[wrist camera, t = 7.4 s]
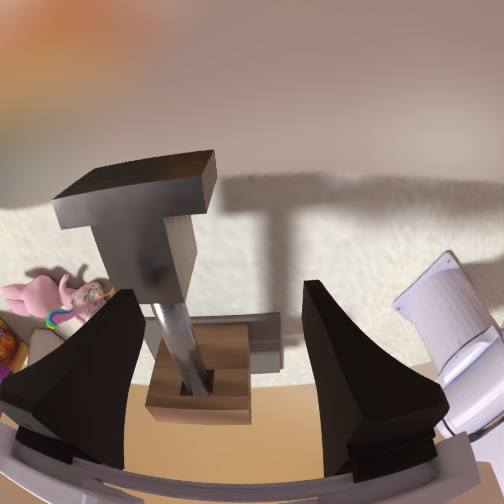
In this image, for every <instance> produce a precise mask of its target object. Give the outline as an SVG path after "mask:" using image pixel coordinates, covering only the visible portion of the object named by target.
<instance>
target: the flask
mask: <svg viewBox="0 0 504 504" xmlns="http://www.w3.org/2000/svg"><path fill="white" fill-rule="evenodd" d="M62 343H64V341H63V340H62V339H61V338H59V337H58V336H57V335H55V334H54V333H53V332H52V331H50V330H44V329H38V328H36V329H35V330H34V332H33V333H32V335H31V338H30V346H29V356H28V364H27V367H28V366H30V365H32V364H33V363H35V362H37V361H38V360H40V359H42V358H43V357H44V356H46V355H47V354H49V353H50V352H52V351H53V350H55V349H56V348H57V347H59V346H60V345H61V344H62Z"/></svg>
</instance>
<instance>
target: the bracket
mask: <svg viewBox="0 0 504 504" xmlns="http://www.w3.org/2000/svg"><path fill="white" fill-rule="evenodd" d="M192 327H193V330H194V334H195V337H196V340H197V343H198V346H199V350H200V353H201V356H202V359H203V362H204V365H205V368H206V371H207V374H208V377H209V379H210V382H211V385H212V388H213V397H204V396H190V394H189V392H188V390H187V388H186V386H185V384H184V382H183V380H182V378H181V376H180V374H179V372H178V369H177V367H176V365H175V363H174V361H173V358H172V356H171V354H170V352H169V349H168V347H167V345H166V342H165V340H164V338H163V335H162V336H161V340H160V344H159V348H158V352H157V356H156V360H155V364H154V368H153V372H152V377H151V381H150V385H149V390H148V394H147V399H146V403H145V407H146V408H147V409H148V411H149V412H150V413H151V414H152V416H153V417H154V418H155V419H156V421H158V422H169V423H183V424H204V425H251V375H250V338H249V329H248V322H230V323H201V324H192Z"/></svg>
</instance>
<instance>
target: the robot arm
mask: <svg viewBox="0 0 504 504" xmlns="http://www.w3.org/2000/svg"><path fill="white" fill-rule="evenodd" d="M448 259H449V260H448ZM392 308H393V309H394V310H395V311H396V312H398V313H399V314H400V315H402V316H403V317H404V318H406V319H407V320H408V321H410V322H411V323H412V324H414V326H415V328H416V329H417V331H418V333H419V335H420V337H421V339H422V341H423V343H424V345H425V347H426V349H427V351H428V353H429V356H430V358H431V360H432V362H433V364H434V366H435V368H436V370H437V373H438V375H439V377H438V378H437V379H436V380H435V381H432V380H430V379H428V378H426V377H424V376H422V375H420V374H419V373H417V372H415V371H414V370H412V369H410V368H409V367H407V366H405V365H404V364H402V363H401V362H399V361H398V360H397V359H395V358H394V357H392V356H391V355H390V354H388V353H387V352H385V351H384V350H383V349H382V348H381V347H379V346H378V345H377V344H376V343H375V342H373V341H372V340H371V339H370V338H369V337H368V336H367V335H366V334H365V333H364V332H363V331H362V330H361V329H360V328H359V327H358V326H357V325H356V324H355V323H354V322H353V321H352V320H351V319H350V318H349V317H348V315H347V314H346V313H345V312H344V311H343V310H342V308H341V307H340V306H339V305H338V304H337V302H336V301H335V300H334V299H333V297H332V296H331V295H330V293H329V292H328V291H327V289H326V288H325V287H324V285H323V284H322V282H321V281H320V280H307V281H304V287H303V304H302V324H303V331H304V338H305V343H306V347H307V351H308V355H309V359H310V363H311V367H312V371H313V375H314V379H315V383H316V387H317V394H318V403H319V411H320V420H321V432H322V445H323V463H324V478H320V479H313V480H303V481H295V482H282V483H264V484H220V483H203V482H191V481H181V480H173V479H166V478H159V477H153V476H147V475H142V474H136V473H132V472H127V471H123V469H124V468H125V467H124V424H125V413H126V404H127V398H128V392H129V387H130V383H131V380H132V376H133V373H134V370H135V366H136V363H137V360H138V357H139V353H140V350H141V347H142V343H143V339H144V333H145V327H146V320H145V318H144V316H143V313H142V311H141V308H140V306H139V304H138V301H137V299H136V296H135V293H134V291H133V289H120V290H119V291H118V292H117V293H116V294H115V295H114V296H113V297H112V298H110V299H109V300H108V301H107V302H106V303H105V304H104V305H103V306H102V307H101V308H100V309H99V310H98V311H97V312H96V313H95V314H94V315H93V316H92V317H91V318H90V319H89V320H88V321H87V322H86V323H85V324H84V325H83V326H82V327H81V328H80V329H79V330H78V331H76V332H75V333H74V334H73V335H72V336H71V337H70V338H69V339H67V340H66V341H65V342H64V343H62V344H61V345H60V346H59V347H57V348H56V349H55V350H53V351H52V352H50V353H49V354H47V355H46V356H44V357H43V358H42V359H40V360H38V361H37V362H35V363H33V364H32V365H30V366H28V367H26V368H25V369H23V370H21V371H19V372H16V373H14V374H12V375H10V376H8V377H5V378H3V379H2V381H1V384H0V410H2V411H3V412H4V413H5V414H6V415H7V416H8V417H10V418H11V419H12V420H13V421H14V422H15V423H17V424H18V425H19V428H18V430H16V429H15V428H13V427H11V426H9V425H7V424H5V423H3V422H2V421H0V473H2V474H3V475H5V476H6V477H7V478H9V479H11V480H12V481H13V482H15V483H16V484H18V485H19V486H21V487H22V488H24V489H25V490H27V491H28V492H30V493H32V494H33V495H35V496H37V497H38V498H40V499H42V500H44V501H45V502H47V503H49V504H144V502H145V501H144V500H143V499H141V498H138V497H135V496H132V495H130V494H127V493H125V492H123V491H122V490H120V489H116V488H113V487H110V486H107V485H104V484H103V482H104V483H108V484H111V485H115V486H118V487H122V488H126V489H131V490H135V491H140V492H145V493H150V494H155V495H161V496H167V497H173V498H181V499H190V500H201V501H213V502H241V503H243V502H245V503H247V502H249V503H250V502H277V501H291V500H300V501H294V502H288V503H281V504H447V503H449V502H451V501H453V500H455V499H457V498H458V497H460V496H462V495H464V494H466V493H468V492H469V491H471V490H473V489H475V488H476V487H478V486H480V485H481V484H482V480H481V476H480V473H479V469H478V466H477V463H476V461H485V462H490V463H491V465H492V468H493V470H494V472H495V475H496V478H497V480H498V483H499V485H500V488H501V490H502V493H503V496H504V416H503V417H502V418H501V419H500V420H499V421H497V422H496V423H494V424H493V425H492V426H490V427H488V428H485V429H482V428H484V427H485V426H486V425H488V424H489V423H490V422H492V421H493V420H494V419H496V418H497V417H498V416H499V415H501V414H502V413H503V412H504V327H503V328H502V329H501V328H500V327H499V325H498V324H497V323H496V321H495V320H494V318H493V317H492V315H491V314H490V312H489V311H488V310H487V308H486V307H485V305H484V304H483V303H482V301H481V300H480V299H479V297H478V296H477V295H476V293H475V289H474V287H473V286H472V284H471V283H470V281H469V280H468V278H467V277H466V275H465V274H464V272H463V271H462V270H461V268H460V267H459V265H458V264H457V262H456V261H455V260H454V258H453V257H452V255H451V254H450V253H449V252H446V253H444V254H443V255H442V256H441V257H440V258H439V259H438V260H437V261H436V262H435V263H434V264H433V265H432V266H431V267H430V268H429V269H428V270H427V271H426V272H425V273H424V274H423V275H422V276H421V277H420V278H419V279H418V280H417V281H416V282H415V283H414V284H413V285H412V286H411V287H410V288H409V289H408V290H406V291H405V292H404V293H403V294H402V295H401V296H400V297H399V298H398V299H397V300H395V301H394V302H393V303H392ZM435 426H437V428H438V430H439V431H440V433H441V434H442V435H443V436H444V437H445V438H446V439H445V440H443V441H441V442H439V443H437V444H435V445H434V442H433V438H434V437H435V436H436V434H435V431H434V427H435ZM316 497H318V498H317V499H309V498H316ZM301 499H306V500H301Z"/></svg>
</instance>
